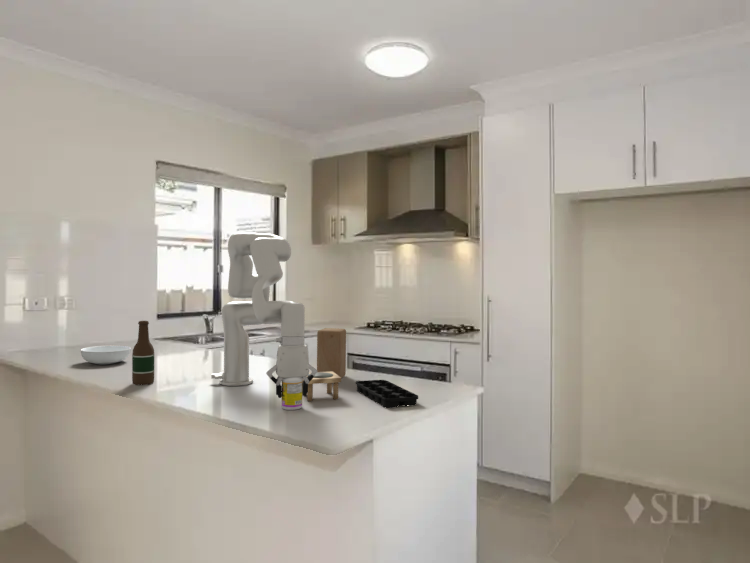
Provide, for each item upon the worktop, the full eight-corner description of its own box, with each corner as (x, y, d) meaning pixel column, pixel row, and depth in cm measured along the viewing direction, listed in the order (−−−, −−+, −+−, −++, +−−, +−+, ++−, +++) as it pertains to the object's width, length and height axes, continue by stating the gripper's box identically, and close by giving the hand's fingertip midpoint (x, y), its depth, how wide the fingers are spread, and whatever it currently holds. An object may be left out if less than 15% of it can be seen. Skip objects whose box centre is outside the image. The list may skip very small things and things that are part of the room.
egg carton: (380, 387, 204) (380, 377, 204) (432, 404, 179) (432, 393, 179) (341, 393, 194) (341, 382, 194) (390, 411, 169) (390, 400, 169)
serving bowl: (117, 367, 236) (117, 352, 236) (70, 366, 236) (70, 351, 236) (138, 359, 257) (138, 345, 257) (95, 359, 257) (95, 344, 257)
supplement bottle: (282, 405, 174) (282, 366, 173) (302, 405, 174) (303, 366, 174) (280, 410, 167) (280, 369, 167) (301, 410, 168) (302, 369, 167)
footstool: (306, 402, 178) (306, 379, 178) (299, 394, 190) (299, 372, 189) (341, 399, 182) (341, 377, 182) (332, 391, 193) (332, 370, 193)
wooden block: (339, 380, 213) (340, 331, 213) (315, 379, 215) (316, 330, 215) (346, 376, 223) (346, 328, 223) (323, 374, 225) (323, 327, 225)
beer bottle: (158, 382, 206) (159, 320, 205) (142, 386, 199) (142, 322, 198) (144, 380, 209) (144, 319, 209) (127, 384, 202) (127, 321, 202)
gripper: (266, 343, 164) (266, 400, 164) (321, 341, 169) (321, 397, 170) (263, 340, 171) (263, 395, 171) (316, 338, 177) (316, 391, 177)
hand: (292, 395), depth 171 cm, fingers open, 7 cm apart
